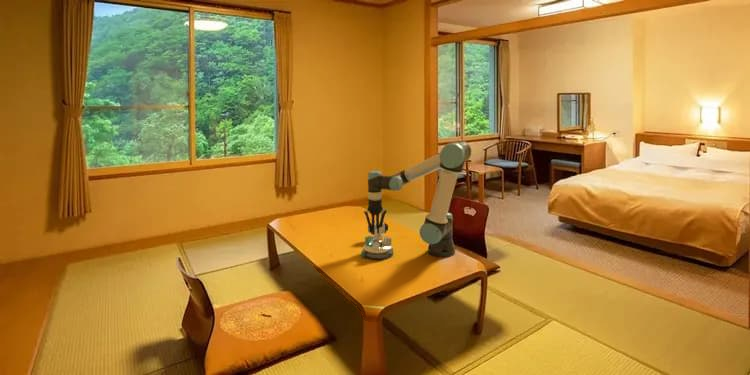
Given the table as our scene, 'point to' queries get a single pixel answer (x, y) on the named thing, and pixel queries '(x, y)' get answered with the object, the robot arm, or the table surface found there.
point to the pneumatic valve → (380, 230)
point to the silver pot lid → (376, 255)
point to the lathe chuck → (377, 245)
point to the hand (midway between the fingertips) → (375, 239)
